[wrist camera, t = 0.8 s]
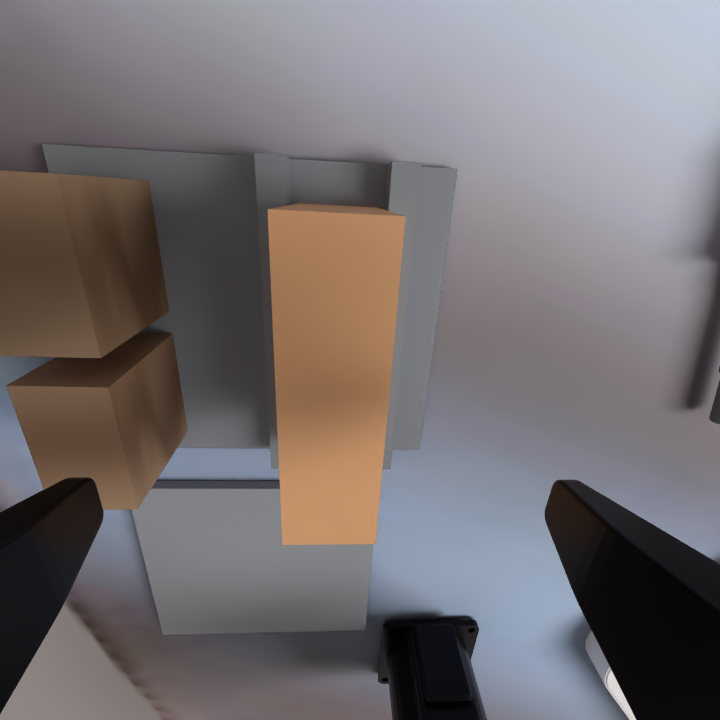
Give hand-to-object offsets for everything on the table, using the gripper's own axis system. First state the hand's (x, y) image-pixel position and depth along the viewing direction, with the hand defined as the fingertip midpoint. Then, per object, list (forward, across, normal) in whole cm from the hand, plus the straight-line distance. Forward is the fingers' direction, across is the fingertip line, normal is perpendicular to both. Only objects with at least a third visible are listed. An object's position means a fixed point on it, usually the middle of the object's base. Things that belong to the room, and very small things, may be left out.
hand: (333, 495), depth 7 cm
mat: (+11, +4, +15) cm, 19 cm away
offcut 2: (+10, +9, +3) cm, 14 cm away
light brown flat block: (+10, 0, 0) cm, 10 cm away
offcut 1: (+10, +9, -3) cm, 14 cm away
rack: (+10, +3, 0) cm, 11 cm away
